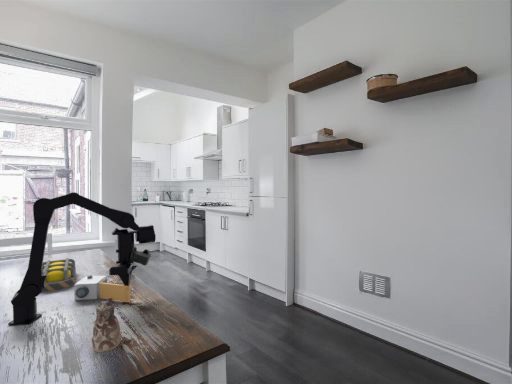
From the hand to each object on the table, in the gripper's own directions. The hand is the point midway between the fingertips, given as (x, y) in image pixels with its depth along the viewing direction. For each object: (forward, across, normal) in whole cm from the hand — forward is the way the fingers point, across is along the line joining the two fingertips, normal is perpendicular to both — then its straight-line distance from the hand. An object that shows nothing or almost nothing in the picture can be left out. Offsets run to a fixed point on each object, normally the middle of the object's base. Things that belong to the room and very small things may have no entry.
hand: (127, 286), depth 112 cm
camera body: (+5, +8, +16) cm, 19 cm away
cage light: (+6, +29, +40) cm, 50 cm away
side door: (+5, 0, +5) cm, 7 cm away
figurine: (+5, -32, -4) cm, 33 cm away
